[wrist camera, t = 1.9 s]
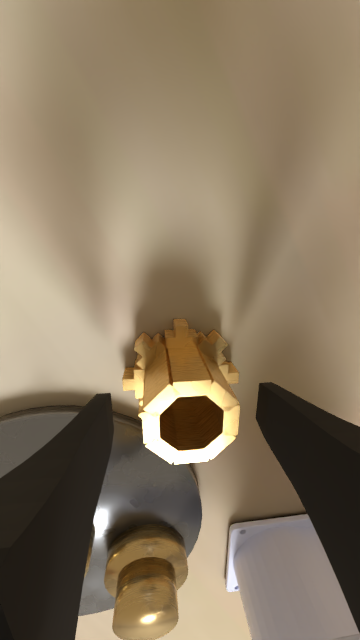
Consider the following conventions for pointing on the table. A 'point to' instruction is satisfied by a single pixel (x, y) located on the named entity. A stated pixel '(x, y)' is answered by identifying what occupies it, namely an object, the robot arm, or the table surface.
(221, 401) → the planet gear
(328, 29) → the table surface
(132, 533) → the carrier
